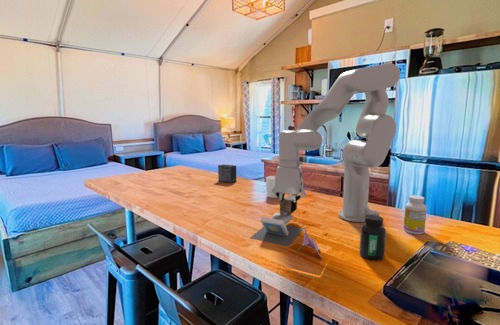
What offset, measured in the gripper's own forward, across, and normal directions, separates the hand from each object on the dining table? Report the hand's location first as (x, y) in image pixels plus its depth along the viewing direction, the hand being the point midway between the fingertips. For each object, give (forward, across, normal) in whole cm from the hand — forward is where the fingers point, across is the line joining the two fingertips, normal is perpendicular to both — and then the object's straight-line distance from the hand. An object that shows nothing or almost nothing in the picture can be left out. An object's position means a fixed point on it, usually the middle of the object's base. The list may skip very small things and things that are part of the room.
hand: (288, 210), depth 109 cm
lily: (+6, -15, +21) cm, 26 cm away
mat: (+6, 0, +11) cm, 12 cm away
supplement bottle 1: (+6, -31, +13) cm, 34 cm away
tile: (+5, 0, +11) cm, 12 cm away
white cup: (+6, +20, -33) cm, 39 cm away
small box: (+6, +60, -52) cm, 80 cm away
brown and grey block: (+1, 0, +3) cm, 4 cm away
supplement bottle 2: (+6, -43, -13) cm, 45 cm away
